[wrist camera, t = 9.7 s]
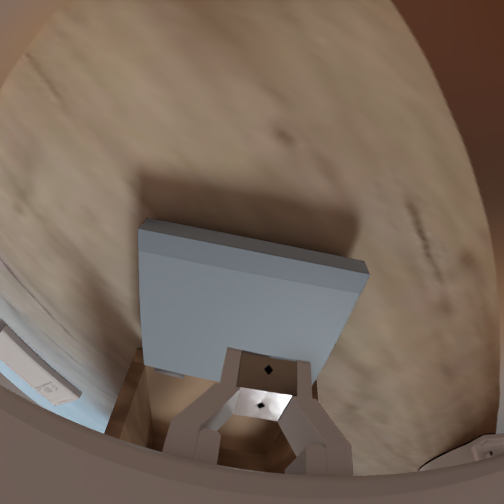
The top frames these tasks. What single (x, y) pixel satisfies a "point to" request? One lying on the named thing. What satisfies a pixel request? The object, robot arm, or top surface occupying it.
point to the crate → (177, 399)
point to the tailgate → (238, 299)
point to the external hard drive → (35, 369)
